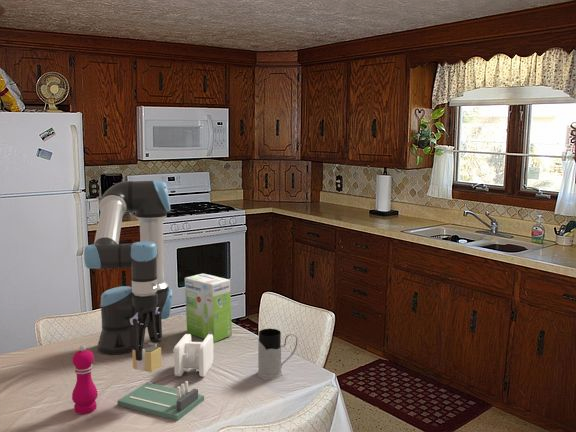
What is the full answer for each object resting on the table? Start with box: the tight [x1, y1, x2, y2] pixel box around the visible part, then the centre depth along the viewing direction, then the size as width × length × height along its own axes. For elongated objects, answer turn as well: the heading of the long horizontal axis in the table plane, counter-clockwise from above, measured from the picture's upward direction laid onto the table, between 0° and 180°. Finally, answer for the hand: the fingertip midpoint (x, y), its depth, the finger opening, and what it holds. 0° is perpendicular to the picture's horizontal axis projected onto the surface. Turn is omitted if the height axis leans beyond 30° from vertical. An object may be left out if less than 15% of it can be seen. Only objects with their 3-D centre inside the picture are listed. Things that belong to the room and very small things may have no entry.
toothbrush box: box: [184, 273, 233, 343], centre depth 228 cm, size 18×10×24 cm, turn 49°
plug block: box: [131, 343, 163, 373], centre depth 170 cm, size 7×5×6 cm
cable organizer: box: [172, 333, 214, 378], centre depth 193 cm, size 15×11×12 cm
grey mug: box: [256, 328, 298, 380], centre depth 192 cm, size 9×14×15 cm, turn 104°
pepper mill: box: [71, 345, 98, 415], centre depth 165 cm, size 7×7×20 cm
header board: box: [117, 380, 205, 422], centre depth 170 cm, size 22×14×8 cm, turn 66°
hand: (147, 366), depth 171 cm, fingers closed on plug block, 5 cm apart
